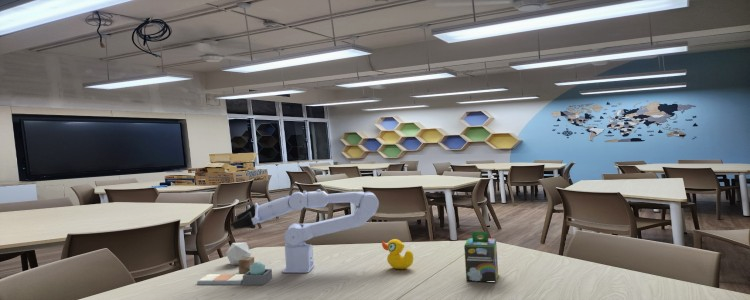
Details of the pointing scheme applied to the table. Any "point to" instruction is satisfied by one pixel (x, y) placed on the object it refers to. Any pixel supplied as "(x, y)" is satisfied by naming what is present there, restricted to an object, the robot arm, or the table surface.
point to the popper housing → (257, 278)
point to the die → (237, 252)
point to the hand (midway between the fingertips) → (235, 222)
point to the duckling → (394, 256)
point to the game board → (221, 279)
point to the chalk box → (481, 258)
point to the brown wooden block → (245, 264)
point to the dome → (257, 269)
